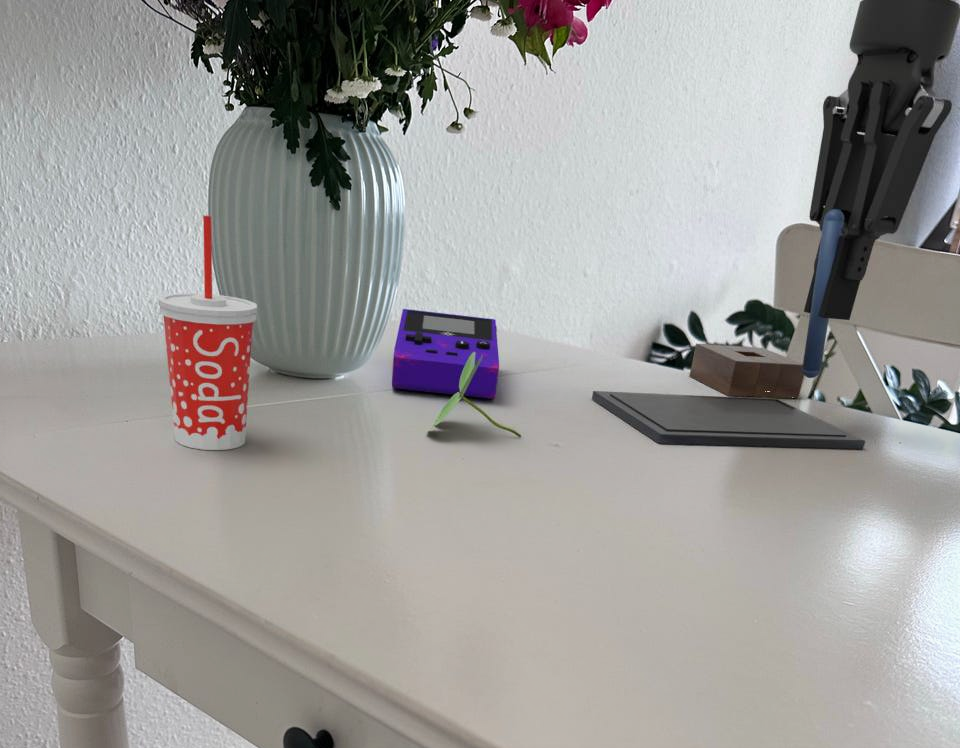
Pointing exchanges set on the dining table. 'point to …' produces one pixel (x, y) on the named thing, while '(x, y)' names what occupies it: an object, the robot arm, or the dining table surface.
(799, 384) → the pen stand
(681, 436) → the tablet
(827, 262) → the stylus
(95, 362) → the dining table surface
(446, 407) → the seedling
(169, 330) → the beverage cup
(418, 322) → the handheld gaming console
